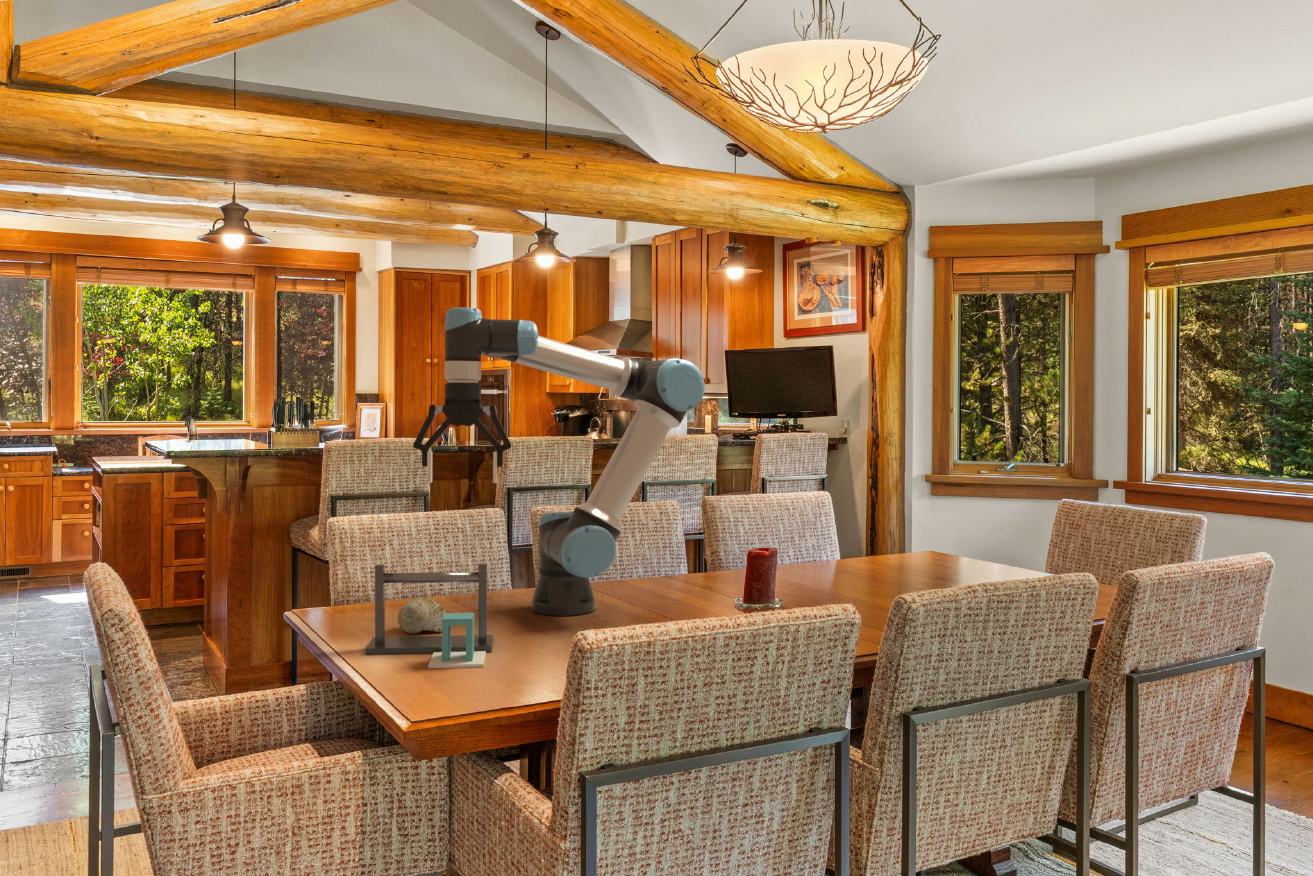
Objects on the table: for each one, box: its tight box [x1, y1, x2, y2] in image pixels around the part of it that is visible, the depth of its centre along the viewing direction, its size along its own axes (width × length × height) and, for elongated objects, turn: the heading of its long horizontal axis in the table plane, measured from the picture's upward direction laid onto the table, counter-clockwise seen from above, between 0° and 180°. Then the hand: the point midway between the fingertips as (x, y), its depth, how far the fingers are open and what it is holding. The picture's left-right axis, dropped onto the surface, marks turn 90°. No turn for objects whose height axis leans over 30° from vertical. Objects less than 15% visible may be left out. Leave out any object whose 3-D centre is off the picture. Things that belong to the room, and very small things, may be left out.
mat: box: [427, 651, 487, 669], centre depth 184 cm, size 10×9×1 cm
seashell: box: [397, 596, 448, 635], centre depth 207 cm, size 10×10×10 cm
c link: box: [441, 612, 475, 662], centre depth 184 cm, size 5×6×8 cm
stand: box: [364, 562, 495, 656], centre depth 193 cm, size 24×9×17 cm, turn 97°
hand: (462, 482), depth 206 cm, fingers open, 13 cm apart
